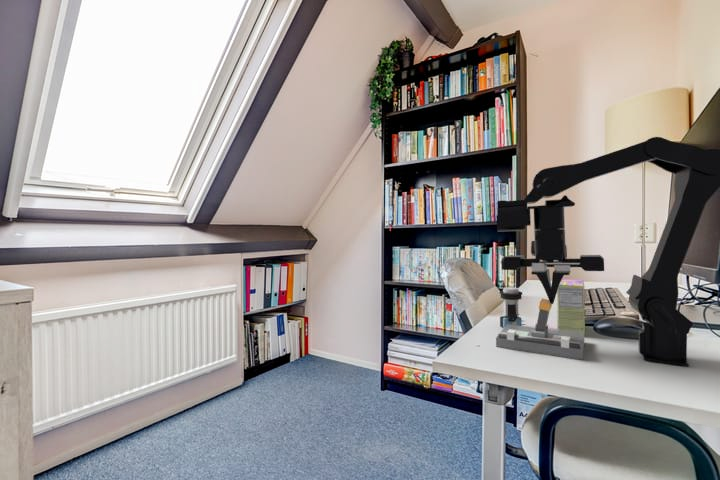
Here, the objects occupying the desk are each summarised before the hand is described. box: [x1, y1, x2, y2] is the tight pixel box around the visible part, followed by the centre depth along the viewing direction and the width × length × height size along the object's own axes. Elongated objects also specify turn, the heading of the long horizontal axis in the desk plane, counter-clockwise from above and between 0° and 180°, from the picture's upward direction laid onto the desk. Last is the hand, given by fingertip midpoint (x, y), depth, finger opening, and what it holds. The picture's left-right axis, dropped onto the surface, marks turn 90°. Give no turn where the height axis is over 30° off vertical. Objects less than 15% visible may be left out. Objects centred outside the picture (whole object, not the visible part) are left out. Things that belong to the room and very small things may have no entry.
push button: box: [499, 286, 527, 329], centre depth 93 cm, size 7×5×10 cm
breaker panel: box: [495, 323, 585, 361], centre depth 80 cm, size 16×12×4 cm
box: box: [556, 279, 586, 337], centre depth 90 cm, size 10×6×12 cm, turn 149°
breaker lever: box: [536, 298, 553, 332], centre depth 78 cm, size 2×4×7 cm, turn 148°
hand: (552, 303), depth 77 cm, fingers closed, pressing on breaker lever
